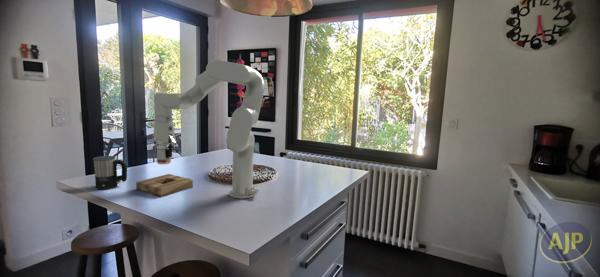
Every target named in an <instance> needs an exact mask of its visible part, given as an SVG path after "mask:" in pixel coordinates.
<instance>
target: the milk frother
mask: <svg viewBox="0 0 600 277" xmlns="http://www.w3.org/2000/svg"><path fill="white" fill-rule="evenodd" d="M92 160H93V167H94V177H95V178H94V180H95V181H94V183H95V188H97V189H96V190H98V189H106V190H111V189H110V188H112V189H114V187H115V188H116V187H118V183H119V182H123V183H124V182H126V181H127V179H128V164H127V162H126V161H125V160H123V159H117V158H116V156H114V155H102V156H97V157H94V158H92ZM117 165H120V166H121V175H118V171H117V168H118V167H117Z"/></svg>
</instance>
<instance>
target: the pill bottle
mask: <svg viewBox="0 0 600 277" xmlns="http://www.w3.org/2000/svg"><path fill="white" fill-rule="evenodd" d="M168 143H169V142H168ZM158 144H159V145H158V146H157V156H156V163H157V165H169V164H171V162H172V157H169V158H166V157H165V149H166V146H165V143H162V141H158ZM168 146H169V144H168Z"/></svg>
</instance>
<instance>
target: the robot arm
mask: <svg viewBox="0 0 600 277" xmlns="http://www.w3.org/2000/svg"><path fill="white" fill-rule="evenodd" d="M194 80H195V84H194V85H193V86H192V87H191V88H190V89H188V90H186V91H185V92H183V93H181V92H179V93H176V92H175V93H174V92H173V93H168V92H156V93H154V97H153V98H154V99H153V100H154V101H153V104H154V105H153V106H154V109H153V110H154V124H153V137H152V138H151V139H152V141H153V144H154V147H155V156H156V157H157V146H158V145H159V144H158V141H162V143H165V146H166V149H165V157H166V158H169V157H171V158H172V157H173V150H174V146H175V145H176V143H177V142H176V134H175V126H174V122H173V110H175V111H176V110H177V111H178V110H187V109H188V110H189V109H190V108H191V107H193V106H195V105H197V103H199V102H201V101H202V100H203V99H204V98H205V97H206V96H207V95H208V94H209V93H210V92H212V91H214V89H216V88H217V87H219V86H220V85H221V84H223V83H225V82H226V83H231V84H237V85H242V86H245V87H246V89H245V92H244V94H243V99H242V103H241V105H240V107H237V108H235V110H234V111H233V113H232V115H231V118H230V121H229V126H228V130H227V134H226V139H225V140H226V141H225V142H226V146H227V148H228V150H229V151H231V152H232V173H231V174H232V189H231V190H230V191H229V192H228V195H229V197H230V198H233V199H249V198H252V197H254V196H257V195H258V193H259V189H257V188H255V185H254V184H253V183H254V152H255V144H256V142H255V140H256V139H255V135H254V133H253V132H252V127H253V126H255V125H256V124H257V123H258V120H259V116H260V112H261V109H262V108H261V107H262V103H263V99H264V95H265V88H266V87H265V81H264V78H263V76H262V74H261V73H260V72H259V71H257V69H255V68H254V67H251V66H249V65H245V64H242V63H237V62H231V61H226V60H221V59H212V60H210V61H209V62H208V63H207V65H206V67H205V71H203V72H202V73H201V74H199V75H197V76H196V77H195V79H194ZM168 142H169V143H168ZM168 145H169V146H168Z"/></svg>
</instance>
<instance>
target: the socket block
mask: <svg viewBox="0 0 600 277" xmlns="http://www.w3.org/2000/svg"><path fill="white" fill-rule="evenodd" d="M135 185H136V191H139V192H142V193H145V194H148V195H151V194H152V195H153V196H154V197H155V196H156V197H159V198H163V197H167V196H169V195H173V194H177V193H178V192H179V193H180V192H182V191H186V190H189V189H191V188H192V189H193V187H194V180H193V179H191V178H187V177H184V176H179V175H175V174H171V173H168V174H163V175H159V176H154V177H150V178H146V179H143V180H138V181H136V182H135Z"/></svg>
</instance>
